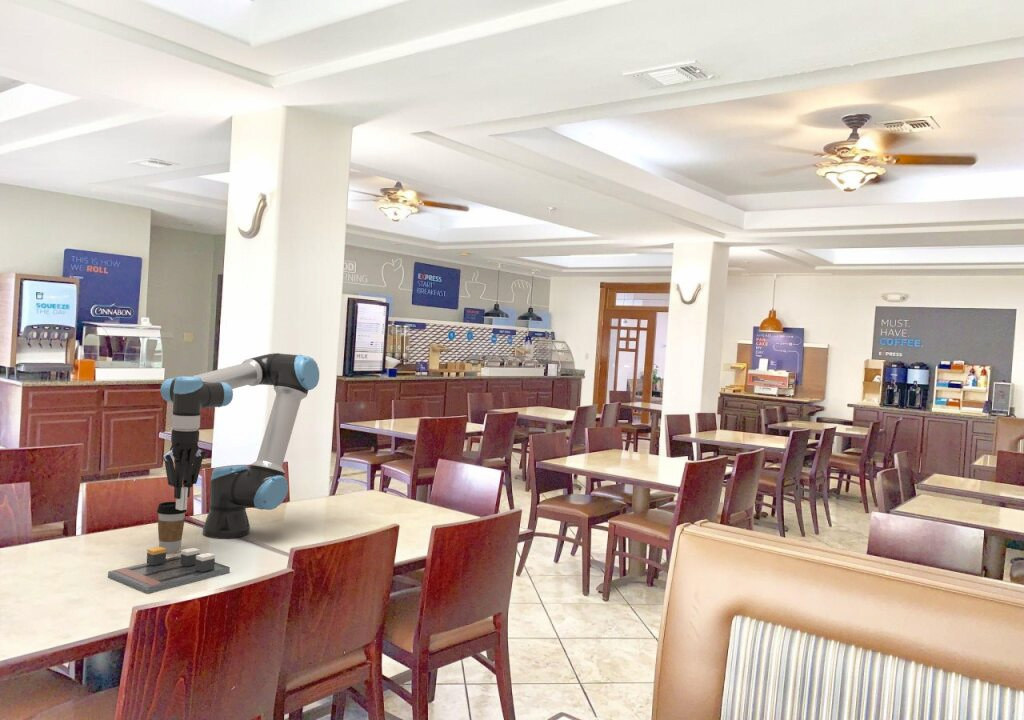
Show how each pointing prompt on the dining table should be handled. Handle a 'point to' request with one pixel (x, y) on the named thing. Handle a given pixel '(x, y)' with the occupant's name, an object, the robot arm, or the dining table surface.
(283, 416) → the robot arm
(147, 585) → the panel
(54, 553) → the dining table surface
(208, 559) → the block
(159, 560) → the block
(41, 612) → the dining table surface
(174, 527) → the coffee cup
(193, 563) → the block
